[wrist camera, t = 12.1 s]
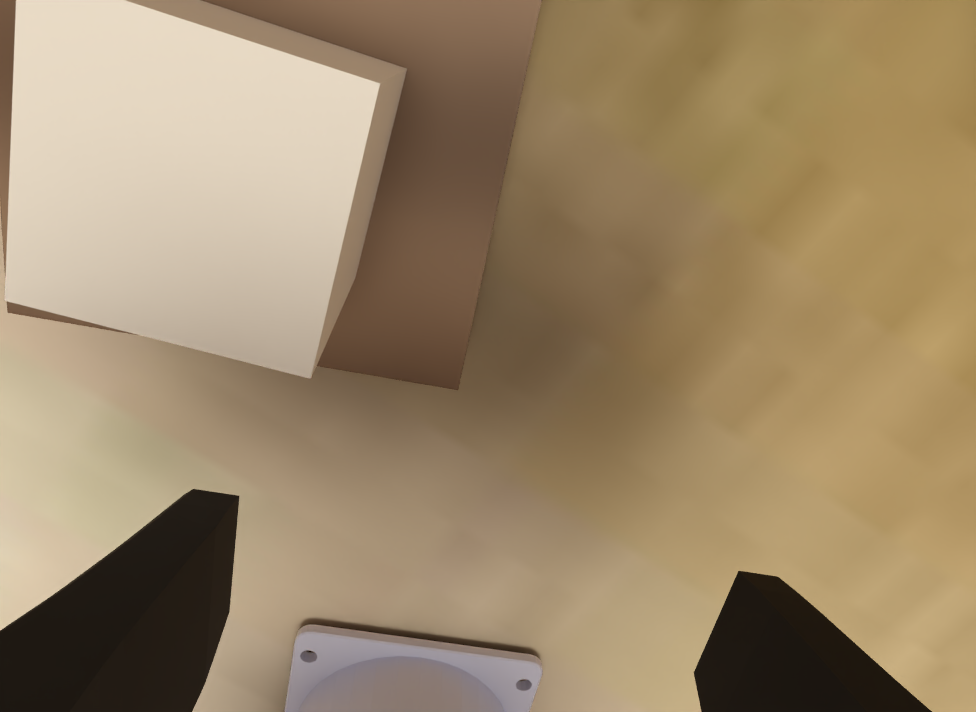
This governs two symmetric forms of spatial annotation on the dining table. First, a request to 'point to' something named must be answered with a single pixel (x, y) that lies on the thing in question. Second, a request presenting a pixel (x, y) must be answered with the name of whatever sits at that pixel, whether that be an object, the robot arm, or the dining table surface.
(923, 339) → the dining table surface
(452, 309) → the walnut block
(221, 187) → the white block
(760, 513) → the dining table surface
